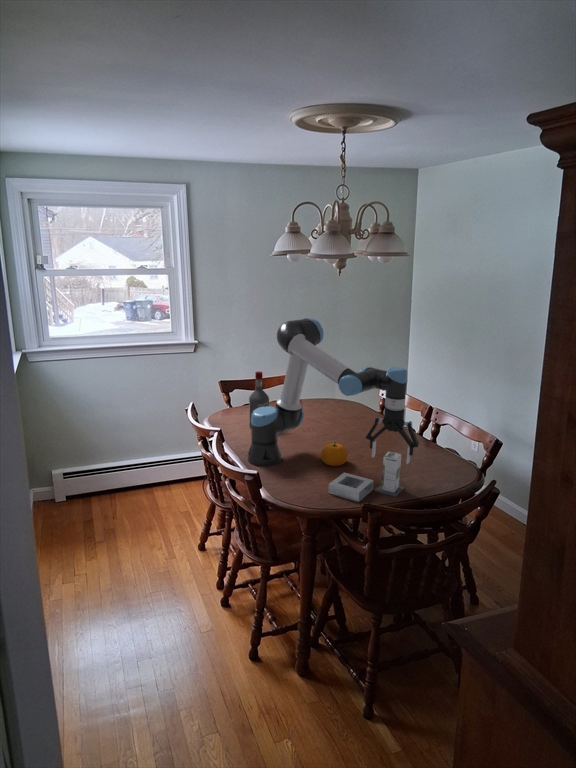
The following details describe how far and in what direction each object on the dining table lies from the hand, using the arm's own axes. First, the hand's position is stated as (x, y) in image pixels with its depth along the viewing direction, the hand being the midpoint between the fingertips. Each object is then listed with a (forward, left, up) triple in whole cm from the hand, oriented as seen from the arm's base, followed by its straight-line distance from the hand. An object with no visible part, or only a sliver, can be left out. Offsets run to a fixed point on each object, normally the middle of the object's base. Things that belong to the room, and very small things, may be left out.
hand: (390, 459), depth 206 cm
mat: (0, 0, -13) cm, 13 cm away
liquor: (-87, +31, -13) cm, 93 cm away
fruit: (-31, +11, -13) cm, 35 cm away
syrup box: (+1, 0, -13) cm, 13 cm away
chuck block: (-12, -10, -13) cm, 20 cm away
